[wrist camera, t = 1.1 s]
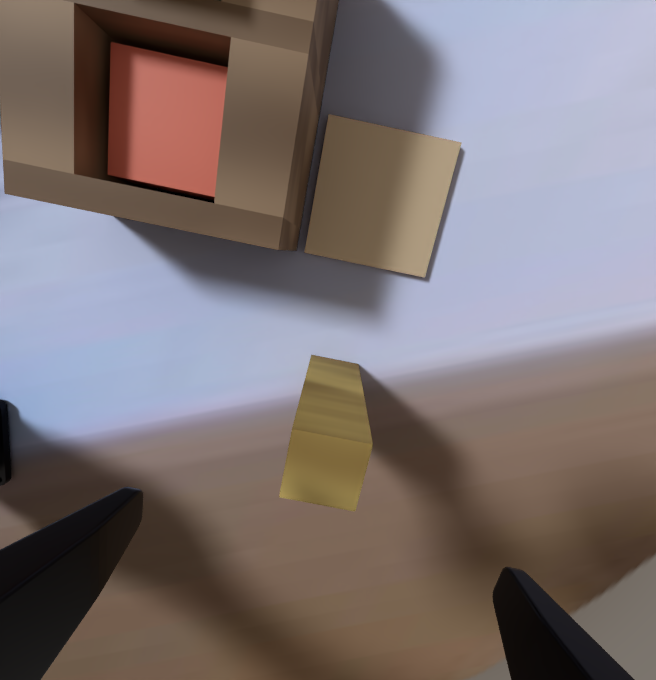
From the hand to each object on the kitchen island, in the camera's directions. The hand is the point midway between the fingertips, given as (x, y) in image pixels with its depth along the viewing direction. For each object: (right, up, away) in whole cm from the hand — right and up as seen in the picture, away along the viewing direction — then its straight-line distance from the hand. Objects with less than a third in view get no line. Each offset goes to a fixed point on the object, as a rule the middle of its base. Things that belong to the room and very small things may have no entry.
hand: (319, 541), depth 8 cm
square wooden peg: (0, +2, +13) cm, 13 cm away
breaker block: (-6, +17, +9) cm, 20 cm away
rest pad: (+3, +13, +10) cm, 16 cm away
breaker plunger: (-6, +14, +8) cm, 17 cm away
